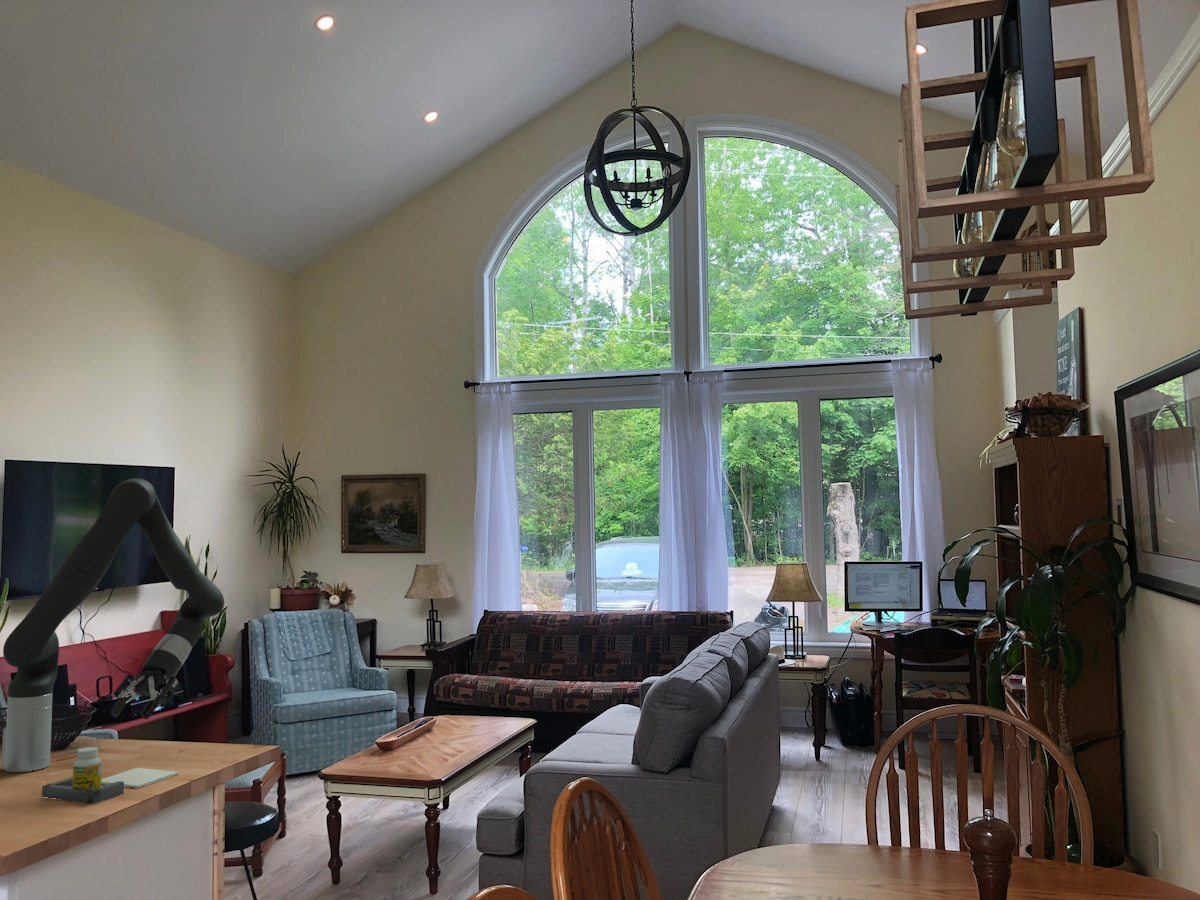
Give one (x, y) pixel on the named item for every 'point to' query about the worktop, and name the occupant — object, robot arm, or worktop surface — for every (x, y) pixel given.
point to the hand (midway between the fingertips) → (128, 716)
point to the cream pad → (139, 777)
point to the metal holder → (81, 791)
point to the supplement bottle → (87, 769)
